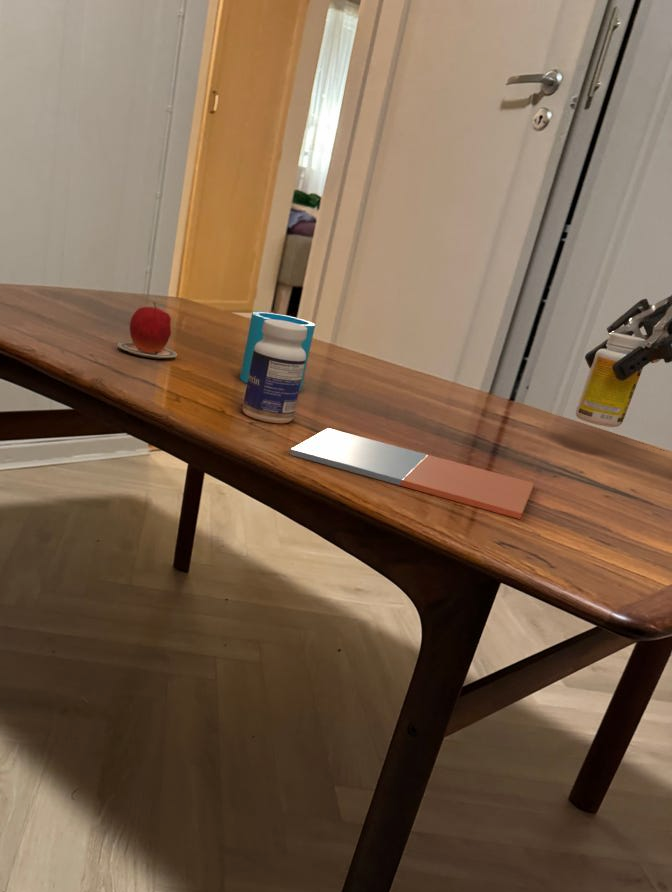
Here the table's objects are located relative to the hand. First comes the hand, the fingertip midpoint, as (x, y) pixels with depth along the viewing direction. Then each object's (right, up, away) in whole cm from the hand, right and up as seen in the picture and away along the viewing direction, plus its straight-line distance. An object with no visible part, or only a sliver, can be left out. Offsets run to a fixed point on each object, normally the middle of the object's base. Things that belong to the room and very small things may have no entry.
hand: (602, 368), depth 108 cm
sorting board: (-27, -16, -19) cm, 37 cm away
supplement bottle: (+1, -6, +3) cm, 7 cm away
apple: (-55, +6, +14) cm, 57 cm away
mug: (-38, +1, +11) cm, 39 cm away
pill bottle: (-41, -8, -8) cm, 42 cm away
